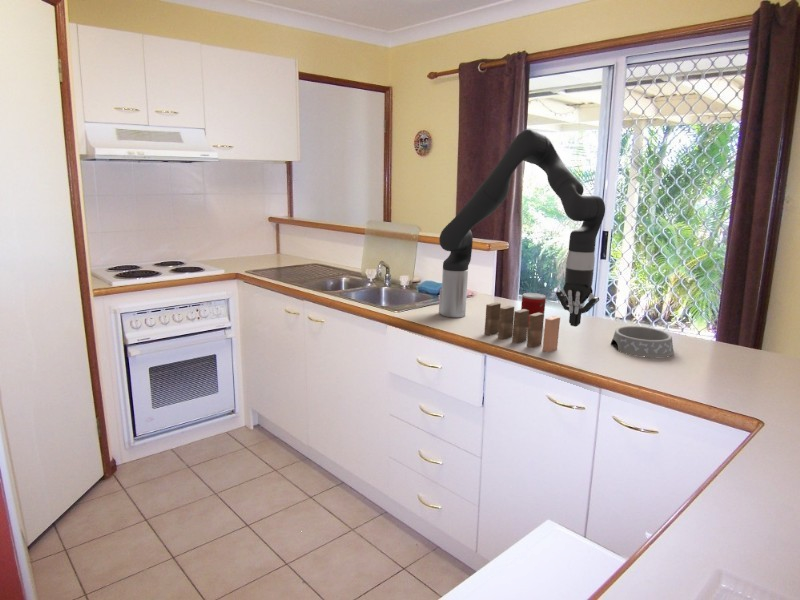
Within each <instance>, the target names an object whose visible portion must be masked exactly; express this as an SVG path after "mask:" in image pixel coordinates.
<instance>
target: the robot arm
mask: <svg viewBox="0 0 800 600" xmlns="http://www.w3.org/2000/svg"><path fill="white" fill-rule="evenodd" d="M522 162H527V163H529V164H533V165H536V166H537V167H539V169H541V170H542V171H543V172H545V174H546V177H547V182H548V184H549V186H550V188H551V189H552V191H553V192H554V193H555V194H556V196H557V197H558V198H559V199H560V201H561V204H562V208H563V211H564V213H565V215H566V216H567V217H568V218H569V219H570V220H572V221H574V222H582V224H581V226H580V227H579V228H577V229H573V230H572V231H571V232H570V233H569V234H570V235H569V241H568V252H567V255H566V262H565V274H564V275H565V277H564V285H563V287H562V289H561V290H558V291H556V292H555V295H556V297H557V299H558V301H559V302H560V304H561V305H562V309H564V311H568V313H569V318H568V321H569V325H570V326H571V327H578V326H579V325H580V324H581V321H582V320H581V319H582V314H585V313H588V312H589V311H590V310H591V309H592V308H593V307H594V306H595V305H596V304H597V303H598V302H599V301H600V298H599V297H598V296H596V295H595V294H594V293H593V289H592V285H593V282H594V281H593V279H594V270H595V258H596V257H595V254H596V253H595V250H596V240H597V236H598V233H599V231H600V228H601V225H602V223H603V220H604V217H605V215H606V204H605V201H604V200H603V198H602V197H600V196H599V195H583V194H584V191H585V190H584V186H583V184H582V183H581V181H580V180H579V179H578V178H577V177H576V176H575V175H574V174H573V172H572V171H571V170H570V169H569V167H567V166H566V164H565V163H564V162H563V160H562V159H561V157H560V155H559V154H558V152H557V150H556V149H555V146H554V144H553V142H552V141H551V140H550V138H549V137H548V136H546V135H544V134H542V133H540V132H537V131H535V130H532V129H524V130H522V131H520V132H519V134H517V135H516V136H515V138H514V139H513V141H512V142H511V144H509V147H508V148H507V150H506V151H505V152H504V154H503V156H502V158H501V159H500V161H499V162H498V163H497V164H496V166H495V167H494V169H493V170H492V171H491V173H490V174H489V175H488V176H487V178H486V179H485V180H484V181H483V182H482V183H481V184H480V186H479V188H477V189H476V191H474V193H473V195H472V196H471V198H470V199H469V200H468V201H467V202H466V203H465V204H464V206H463V208H462V209H461V210H459V211H460V212H459V213H457V214H456V216H455V217H454V218H452V220H450V222H448V224H447V225H445V227H444V228H443V229H442V230H441V232H440V235H439V245H440V247H441V249H443V250H444V251H445V252H450V253H449V256H447V258H446V259H444V260H443V262H442V281H441V288H440V289H439V297H438V298H439V303H438V313H439V314H440V315H441V316H442V317H446V318H447V317H448V318H462V317H466V314H467V313H466V312H467V297H468V296H467V295H468V293H467V292H468V280H469V279H468V277H469V276H468V275H469V265H470V264H471V260H472V253H473V243H474V241H473V240H474V239H473V232H472V231H471V230H472V229H473V228H474V227H475V226H476V225H478V224H479V223H480V222H482V221H484V220H485V219H487V218H488V217H489V216H490V215H492V214H493V213H494V212H495V211H496V210H497V209H498V208H499V207H500V206H501V204H502V203H504V201H505V200H506V198H507V196H508V194H509V191H510V186H511V180H512V176H513V174H514V172H515V170H516V169H517V168H518V167H519V166H520V164H521V163H522ZM586 301H587V303H586Z"/></svg>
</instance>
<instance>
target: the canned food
mask: <svg viewBox="0 0 800 600" xmlns="http://www.w3.org/2000/svg"><path fill="white" fill-rule="evenodd" d="M546 299H547V298H546V295H545V294H542V293H538V292H537V293H536V292H524V293H523V294H522V297H521V307H520V310H522V309H526V310H529V315H531V314H535V313H538V312H539V313H543V314H544V315H545V311H546V310H545V309H546ZM543 323H545V320H544V321H543ZM528 326H529V316H528Z"/></svg>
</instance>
